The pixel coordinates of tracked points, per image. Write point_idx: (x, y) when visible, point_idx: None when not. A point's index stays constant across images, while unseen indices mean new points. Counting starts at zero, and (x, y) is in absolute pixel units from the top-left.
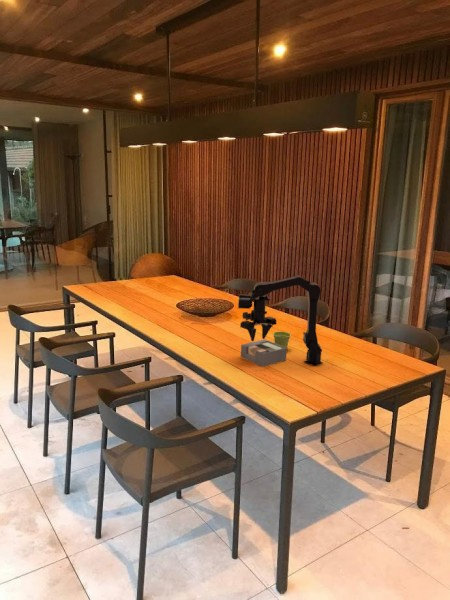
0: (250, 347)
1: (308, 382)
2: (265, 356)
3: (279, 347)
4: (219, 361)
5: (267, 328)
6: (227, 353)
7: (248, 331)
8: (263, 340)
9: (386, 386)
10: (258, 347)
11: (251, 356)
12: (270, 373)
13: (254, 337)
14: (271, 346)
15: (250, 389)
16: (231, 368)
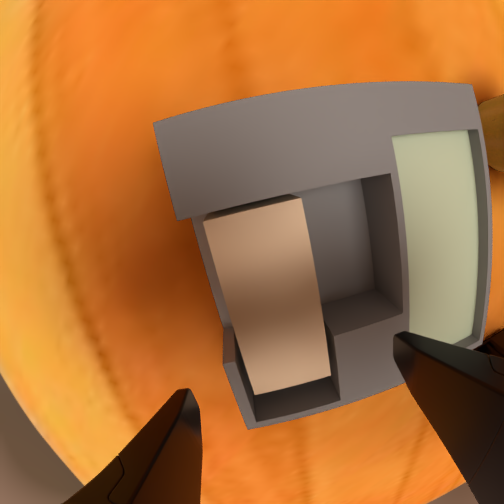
0: (216, 253)
1: (329, 496)
2: (279, 402)
3: (473, 284)
4: (19, 189)
5: (483, 496)
6: (122, 44)
7: (76, 497)
8: (453, 99)
9: (455, 486)
10: (306, 282)
11: (209, 282)
12: (242, 438)
13: (198, 473)
14: (447, 240)
15: None
16: (56, 323)
